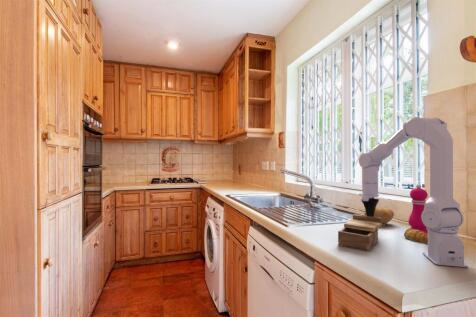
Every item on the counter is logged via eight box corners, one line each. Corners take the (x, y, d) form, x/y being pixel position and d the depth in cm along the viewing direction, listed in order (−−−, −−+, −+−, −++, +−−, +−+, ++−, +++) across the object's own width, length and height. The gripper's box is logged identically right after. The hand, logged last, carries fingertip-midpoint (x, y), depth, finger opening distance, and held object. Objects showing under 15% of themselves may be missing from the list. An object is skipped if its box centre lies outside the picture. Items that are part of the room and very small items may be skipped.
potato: (400, 226, 119) (400, 208, 119) (374, 228, 116) (374, 209, 116) (384, 221, 129) (384, 204, 129) (359, 222, 125) (359, 206, 126)
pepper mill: (420, 236, 103) (419, 185, 103) (404, 231, 110) (403, 183, 110) (434, 235, 105) (434, 184, 105) (417, 230, 112) (417, 183, 112)
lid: (373, 231, 91) (373, 223, 91) (344, 227, 97) (343, 219, 97) (381, 225, 100) (381, 217, 100) (354, 221, 106) (354, 214, 106)
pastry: (439, 243, 95) (438, 232, 95) (426, 245, 93) (426, 235, 93) (413, 236, 104) (413, 226, 104) (401, 238, 101) (401, 228, 101)
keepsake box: (368, 251, 86) (368, 236, 86) (338, 245, 93) (338, 231, 93) (378, 242, 95) (377, 229, 95) (349, 237, 102) (349, 224, 102)
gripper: (364, 181, 114) (364, 212, 114) (353, 183, 103) (354, 218, 103) (382, 182, 110) (383, 214, 110) (373, 185, 99) (373, 221, 99)
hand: (370, 216), depth 106 cm, fingers closed
